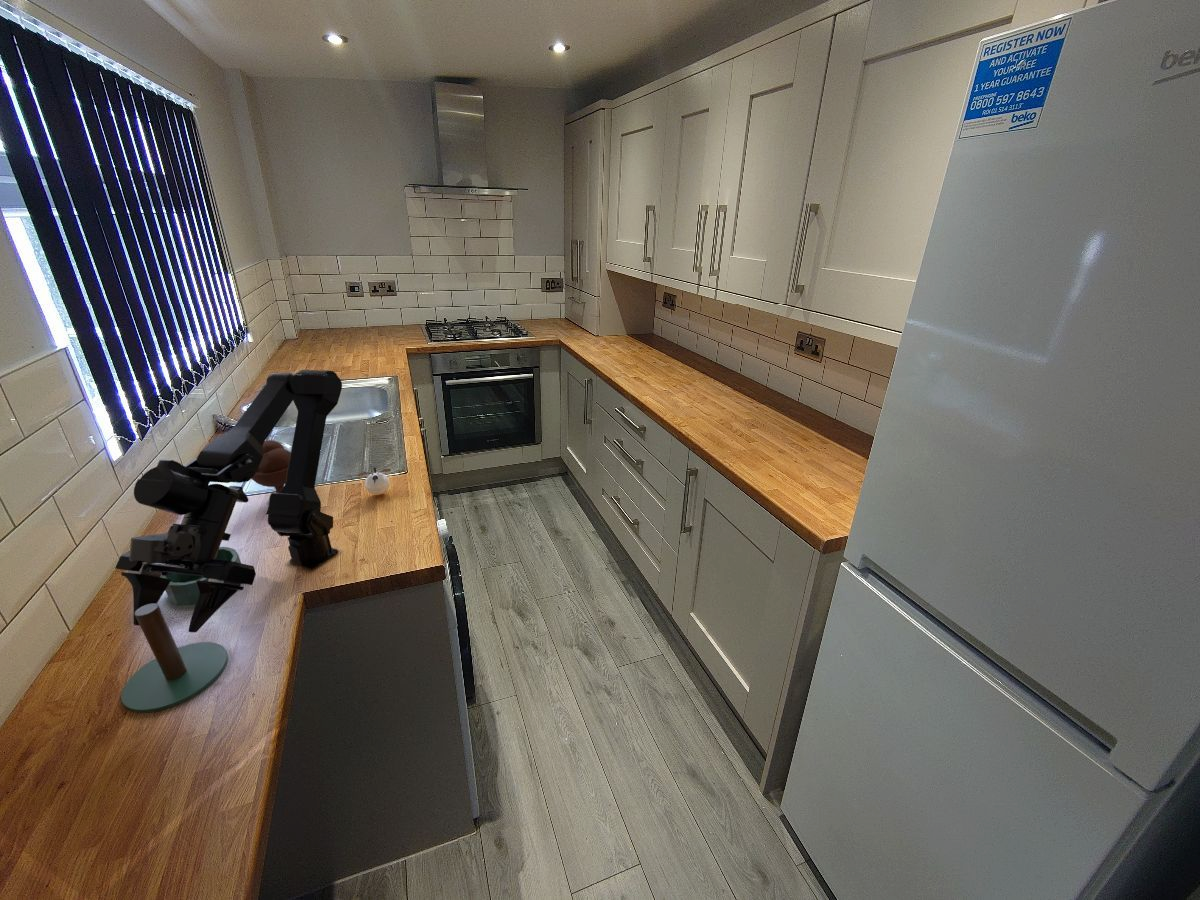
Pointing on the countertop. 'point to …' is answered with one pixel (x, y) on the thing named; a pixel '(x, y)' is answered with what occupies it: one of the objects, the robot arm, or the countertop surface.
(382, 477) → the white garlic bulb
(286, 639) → the countertop surface
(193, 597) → the tin
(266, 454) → the ice cream bowl
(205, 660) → the lid
